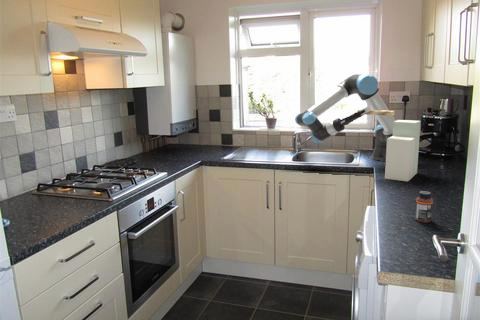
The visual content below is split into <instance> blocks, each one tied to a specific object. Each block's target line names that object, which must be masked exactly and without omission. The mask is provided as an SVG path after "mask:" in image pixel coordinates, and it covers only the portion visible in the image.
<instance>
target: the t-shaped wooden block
mask: <svg viewBox="0 0 480 320" xmlns="http://www.w3.org/2000/svg"><path fill="white" fill-rule="evenodd" d="M360 110H361V109H358V110H357V112H359V111H360ZM395 112H396V111H395V110H389V111H386V110H383V111H369V112H367V113H365V114H364V115H368V116H369V115H370V116H371V115H372V116H375V115H385V116H395V114H396V113H395Z"/></svg>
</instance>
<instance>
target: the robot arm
mask: <svg viewBox="0 0 480 320" xmlns="http://www.w3.org/2000/svg"><path fill="white" fill-rule="evenodd" d="M379 91H380V88H379V81H378V79H377V77H376V76H374V75H372V74H368V73H363V74H358V73H357V74H353V75H350V76H348V77H347V78H346V79H344V80H342V82H340V83H338V85H337V86H336V88H335V89H333V90H332V91H330V92H329V93H328V94H327V95H326V96H324V97H323V98H321V99H320V100H319V101H317V102H316V103H314V104H313V105H312V106H310V107H309V108H308V109H306V110H305V111H303V112H302V113H297V114H296V116H295V118H294V120H295V123H296V124H297V125H298V126H300V127H305V128H308V129H309V131H311V133H310V136H311V137H310V138H312V141H313V142H315V143H317V144H319V143H321V142H324V141H325V140H327V139H328V138H330V137H333V136H336V134H338V133H341V132H342V131H344V130H345V126H346V125H349V124H350V123H353V122H354V121H356V120H358V119H359V118H361V117H363V116H365V115H366V114H365V113H367V112H369V111H383V110H386V111H390V109H389V108H388V107H387V105H386V103H385V102H384V99H383V98H382V97H381V95H380V93H379ZM354 94H355V95H356V94H357V95H358V97H359V98H360V100H361V101H364V102H366V104H367V105H368V106H366V107H364V108H362V109H359V110H360V111H359V112H358V111H356V112H354V113H352V114H350V115H349V116H346V117H343V118H342V119H340V118H339V117H338V118H335V119H334V120H333V121H329V122H328V123H325V125H323V123H322V122H321V121H320V120H319V118H318V117H319V116H321V115H322V114H324V113H325V112H326V111H328V110H329V109H330V108H332V107H333V106H334V105H336V104H337V103H338V102H340V101H341V100H342V99H344V98H348V97H349V96H351V95H354ZM374 116H375V118H376V120H377V121H378V122H379V124H380V125H377V126H376V127H375V141H374V142H375V143H374V148H373V151H372V154H371V160H373V161H378V160H380V161H379V162H386V148H387V138H389V137H392V135H393V122H394V121H396V119H395V117H394V115H392V116H385V115H374Z"/></svg>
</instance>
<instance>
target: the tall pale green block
mask: <svg viewBox="0 0 480 320" xmlns="http://www.w3.org/2000/svg"><path fill="white" fill-rule="evenodd" d="M420 134H421V120H413V119H412V120H411V119H396V120H395V121H394V122H393V135H392V137H389V138H387V148H386V161H385V168H384V169H385V171H384V179H385V180H392V181H403V182H409V181H410V180H411V179H413V177H415V175H417V174H418V166H419V165H418V164H419V163H418V161H419V148H420V136H421V135H420Z"/></svg>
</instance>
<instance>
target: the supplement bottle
mask: <svg viewBox="0 0 480 320" xmlns="http://www.w3.org/2000/svg"><path fill="white" fill-rule="evenodd" d="M418 194H419V195H418V196H417V197H416V198H415V209H414V210H415V212H414V213H415V214H414V220H416V221H417V222H419V223H422V224H423V223H424V224H425V223H431V222H432V220H433V206H434V200H433V198H432V197H431V196H432V193H431V192H430V191H427V190H426V191H425V190H420V191H419V193H418Z"/></svg>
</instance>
